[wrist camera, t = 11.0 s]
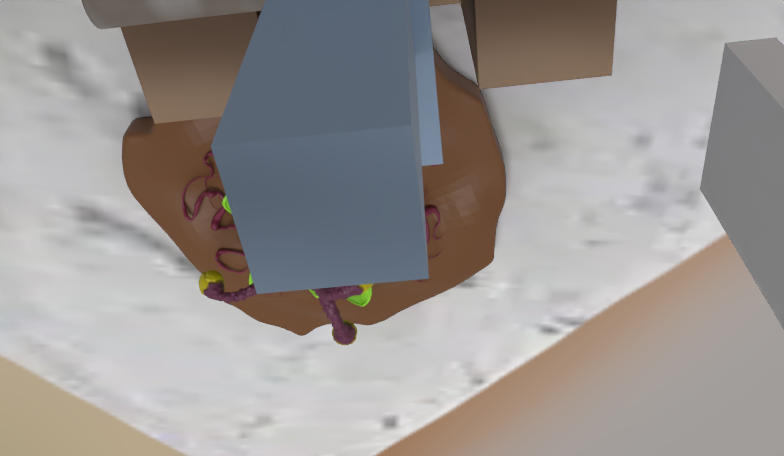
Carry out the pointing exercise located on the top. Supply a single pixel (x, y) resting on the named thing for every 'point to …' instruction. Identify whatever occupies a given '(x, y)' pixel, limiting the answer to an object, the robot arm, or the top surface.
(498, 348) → the top surface
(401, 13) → the light blue forked piece
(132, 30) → the stand
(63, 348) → the top surface
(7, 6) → the top surface
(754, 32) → the top surface
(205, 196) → the plant
